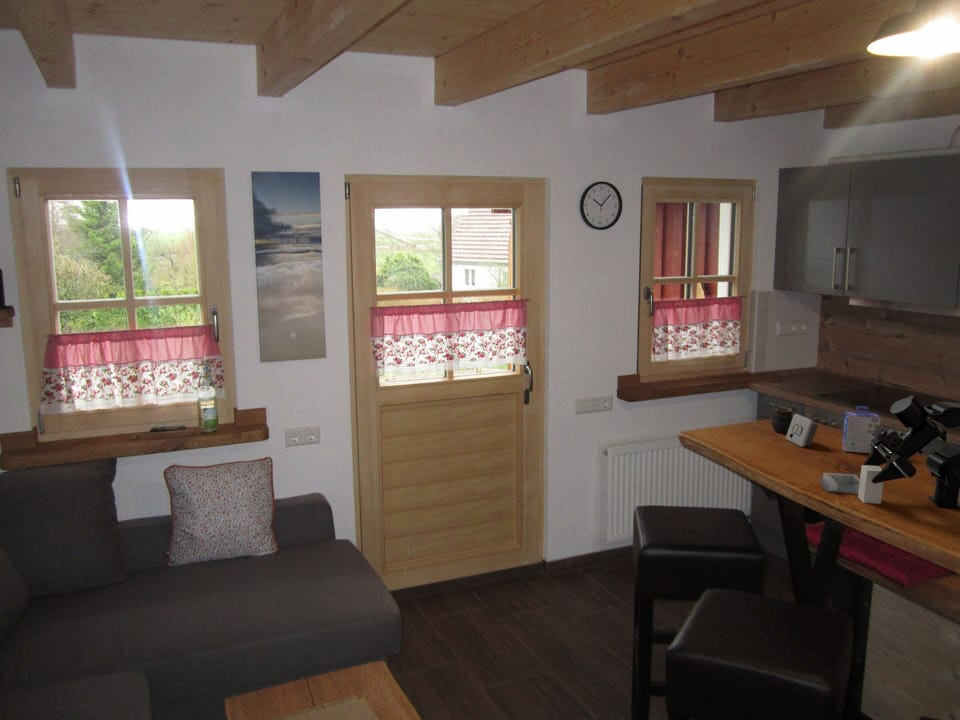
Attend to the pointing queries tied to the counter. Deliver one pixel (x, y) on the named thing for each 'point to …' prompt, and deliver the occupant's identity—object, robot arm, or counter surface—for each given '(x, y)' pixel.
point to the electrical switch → (801, 431)
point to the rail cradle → (840, 483)
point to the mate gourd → (782, 419)
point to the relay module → (870, 485)
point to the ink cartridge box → (859, 430)
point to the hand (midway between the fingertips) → (866, 476)
